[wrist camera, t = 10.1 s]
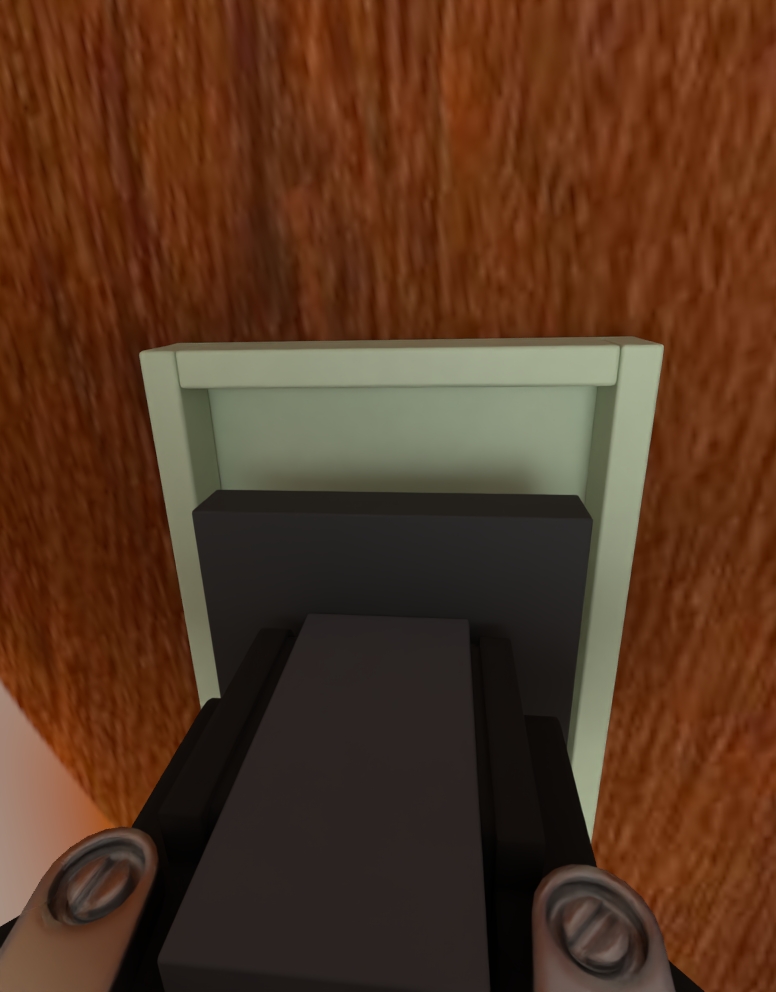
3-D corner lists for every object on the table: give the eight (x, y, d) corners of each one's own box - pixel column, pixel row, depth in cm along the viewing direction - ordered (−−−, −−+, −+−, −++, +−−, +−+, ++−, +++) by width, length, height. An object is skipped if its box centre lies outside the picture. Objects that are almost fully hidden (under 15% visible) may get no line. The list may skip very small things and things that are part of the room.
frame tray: (256, 871, 20) (238, 928, 18) (177, 342, 13) (136, 351, 12) (562, 896, 19) (574, 960, 17) (634, 336, 12) (666, 344, 11)
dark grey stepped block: (253, 760, 13) (69, 1203, 7) (216, 488, 11) (-121, 776, 5) (548, 779, 13) (653, 1295, 6) (578, 494, 10) (799, 846, 4)
